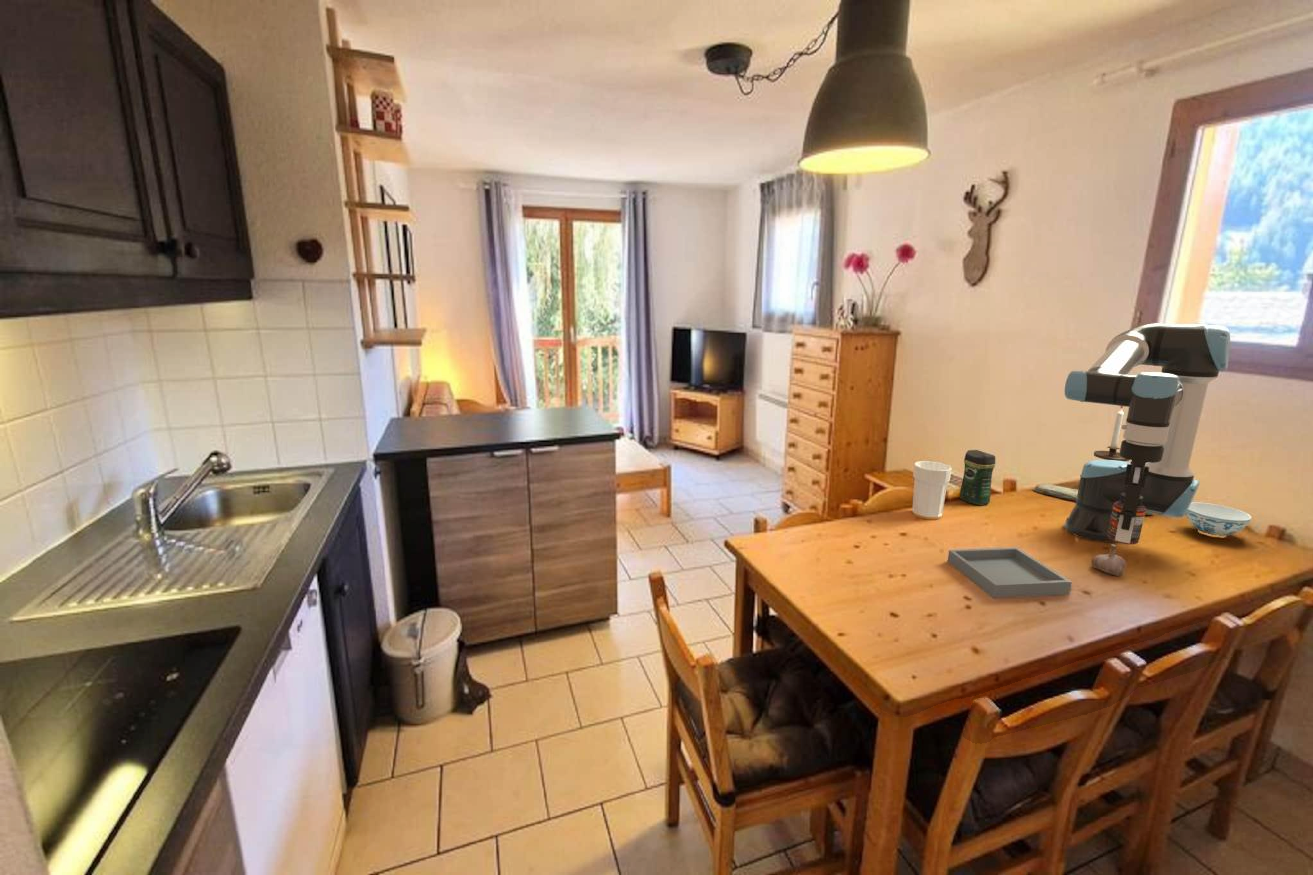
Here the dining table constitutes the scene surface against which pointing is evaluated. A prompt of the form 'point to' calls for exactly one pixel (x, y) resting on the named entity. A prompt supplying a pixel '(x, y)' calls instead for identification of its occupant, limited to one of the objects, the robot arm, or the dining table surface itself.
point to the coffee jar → (977, 477)
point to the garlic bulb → (1109, 562)
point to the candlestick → (1113, 442)
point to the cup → (930, 489)
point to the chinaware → (1216, 518)
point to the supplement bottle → (1137, 524)
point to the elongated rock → (1061, 492)
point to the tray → (1008, 572)
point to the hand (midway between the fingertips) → (1123, 536)
